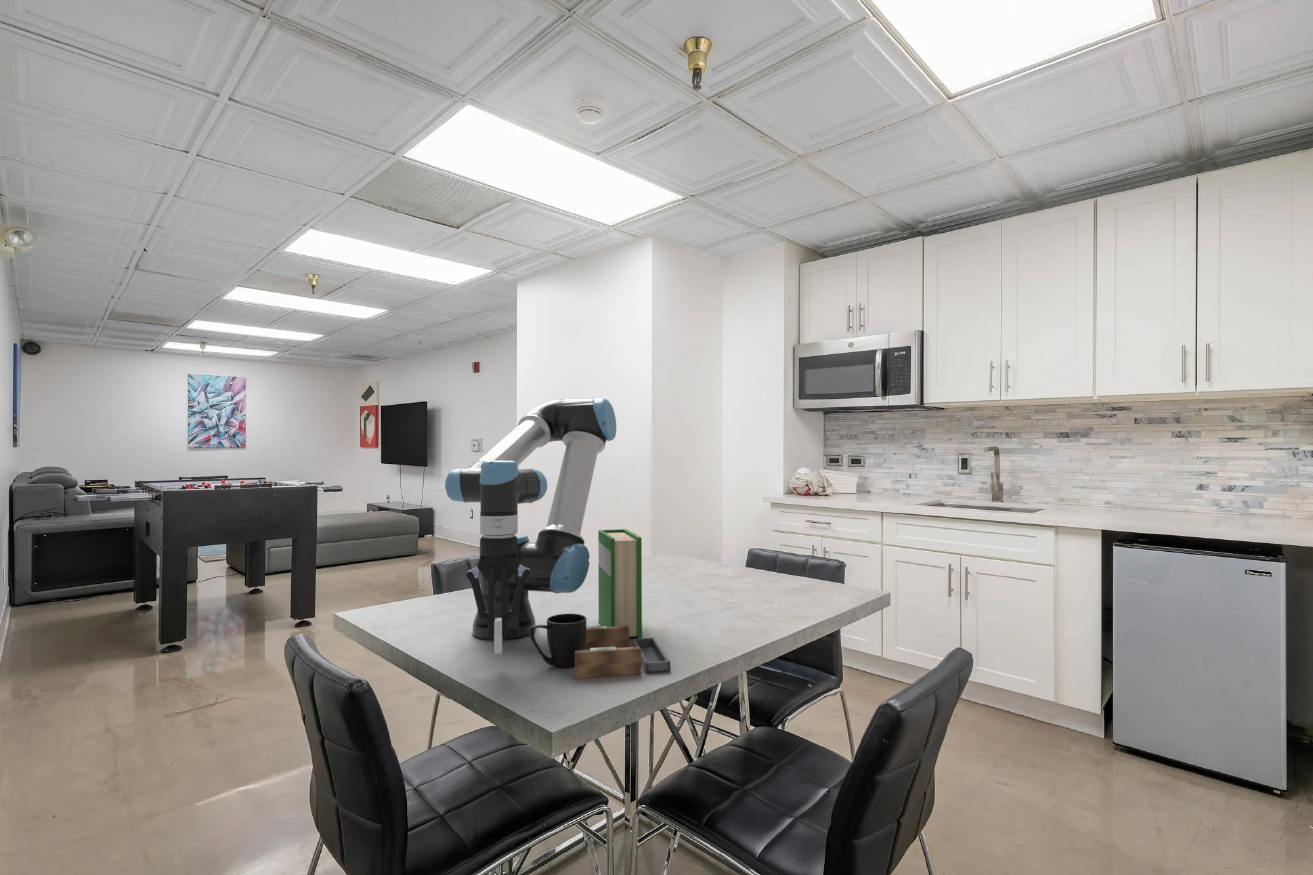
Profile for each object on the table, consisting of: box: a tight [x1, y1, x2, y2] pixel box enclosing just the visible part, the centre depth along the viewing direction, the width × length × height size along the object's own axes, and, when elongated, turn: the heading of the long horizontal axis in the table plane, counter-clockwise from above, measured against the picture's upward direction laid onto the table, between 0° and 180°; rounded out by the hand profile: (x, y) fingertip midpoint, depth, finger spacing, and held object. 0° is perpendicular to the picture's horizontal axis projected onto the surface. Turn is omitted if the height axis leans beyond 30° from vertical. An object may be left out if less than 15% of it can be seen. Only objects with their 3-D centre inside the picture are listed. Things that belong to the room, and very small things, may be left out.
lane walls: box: [574, 625, 642, 680], centre depth 132 cm, size 13×17×5 cm
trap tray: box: [631, 637, 671, 674], centre depth 133 cm, size 5×17×2 cm, turn 11°
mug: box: [529, 613, 587, 669], centre depth 130 cm, size 8×12×10 cm
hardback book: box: [597, 528, 643, 639], centre depth 156 cm, size 18×7×24 cm, turn 15°
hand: (498, 651), depth 127 cm, fingers closed
